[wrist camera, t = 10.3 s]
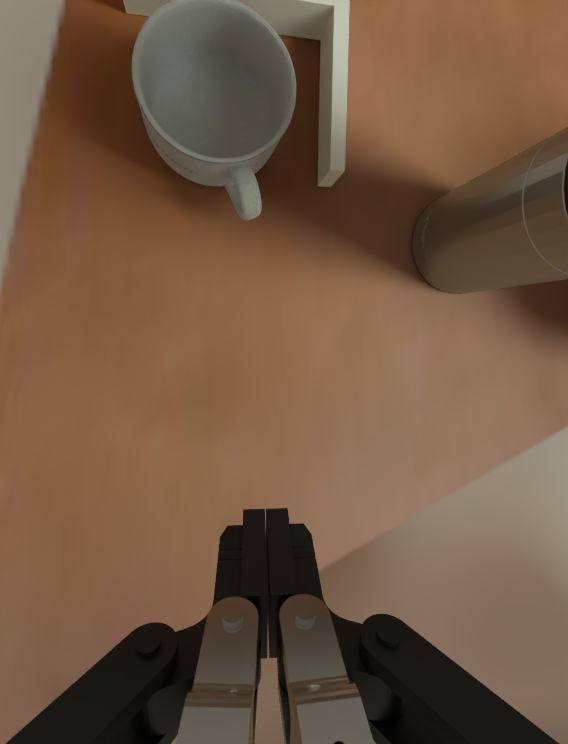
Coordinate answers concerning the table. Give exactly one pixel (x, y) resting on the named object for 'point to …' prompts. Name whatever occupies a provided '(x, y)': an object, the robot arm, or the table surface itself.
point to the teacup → (214, 93)
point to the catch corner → (331, 26)
